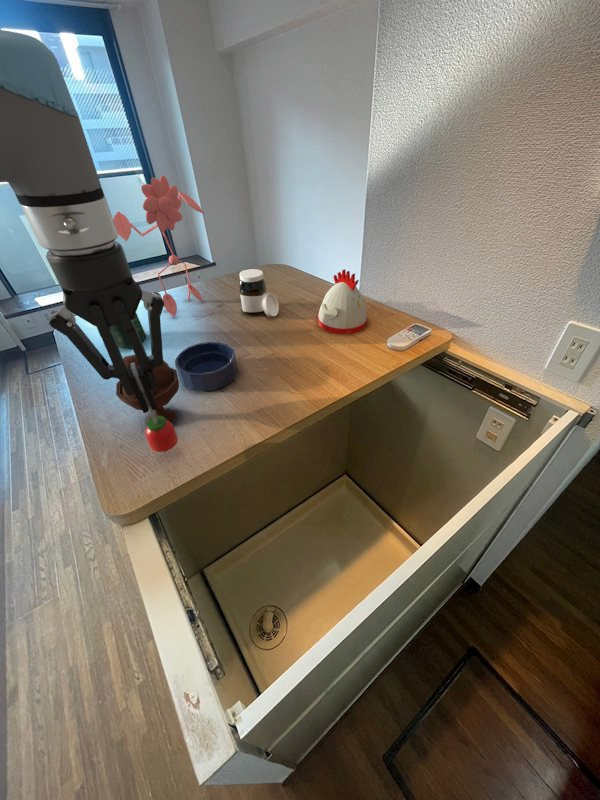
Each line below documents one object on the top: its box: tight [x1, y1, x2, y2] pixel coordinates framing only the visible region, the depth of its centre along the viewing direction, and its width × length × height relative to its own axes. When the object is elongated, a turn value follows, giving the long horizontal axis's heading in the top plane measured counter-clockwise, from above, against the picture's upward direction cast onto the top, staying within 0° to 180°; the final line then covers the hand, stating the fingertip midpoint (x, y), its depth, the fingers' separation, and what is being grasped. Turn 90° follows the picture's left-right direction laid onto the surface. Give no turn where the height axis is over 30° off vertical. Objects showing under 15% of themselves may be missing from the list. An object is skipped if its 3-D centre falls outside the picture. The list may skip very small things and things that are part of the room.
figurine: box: [113, 174, 218, 321], centre depth 91 cm, size 15×26×35 cm, turn 147°
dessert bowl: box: [174, 341, 239, 392], centre depth 75 cm, size 13×13×5 cm
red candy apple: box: [130, 363, 179, 453], centre depth 51 cm, size 5×5×16 cm
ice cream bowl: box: [115, 354, 180, 424], centre depth 61 cm, size 11×11×15 cm
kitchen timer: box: [317, 268, 368, 335], centre depth 90 cm, size 14×14×15 cm
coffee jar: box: [111, 312, 147, 349], centre depth 83 cm, size 10×8×19 cm
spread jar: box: [238, 268, 280, 318], centre depth 97 cm, size 12×11×12 cm
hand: (149, 405), depth 51 cm, fingers closed on red candy apple
